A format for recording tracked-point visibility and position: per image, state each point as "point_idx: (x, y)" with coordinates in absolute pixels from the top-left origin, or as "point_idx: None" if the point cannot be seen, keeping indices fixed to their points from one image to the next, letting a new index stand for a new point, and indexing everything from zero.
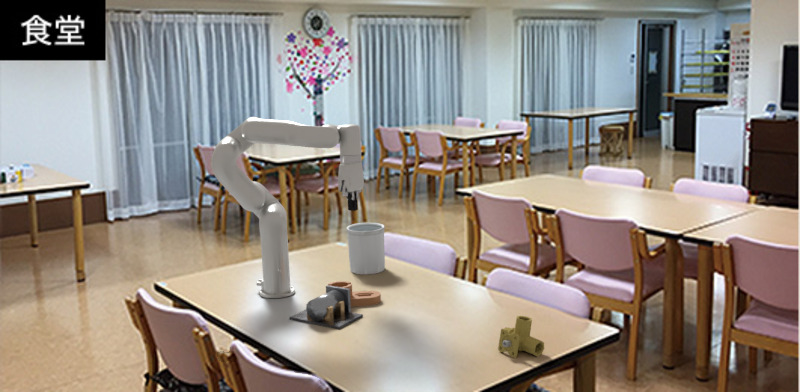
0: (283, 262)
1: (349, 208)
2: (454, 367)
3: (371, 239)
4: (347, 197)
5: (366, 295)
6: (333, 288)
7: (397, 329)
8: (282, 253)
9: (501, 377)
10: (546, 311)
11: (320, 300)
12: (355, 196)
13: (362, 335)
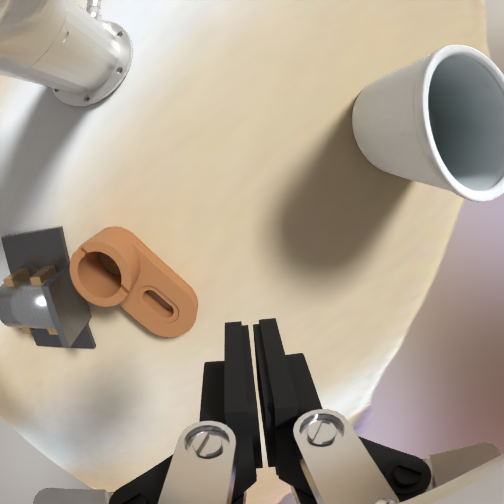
0: (31, 80)
1: (207, 364)
2: (88, 470)
3: (428, 175)
4: (155, 478)
5: (168, 301)
6: (49, 308)
7: (103, 410)
8: (11, 75)
9: (107, 491)
10: (288, 484)
11: (7, 322)
12: (295, 490)
13: (53, 381)
